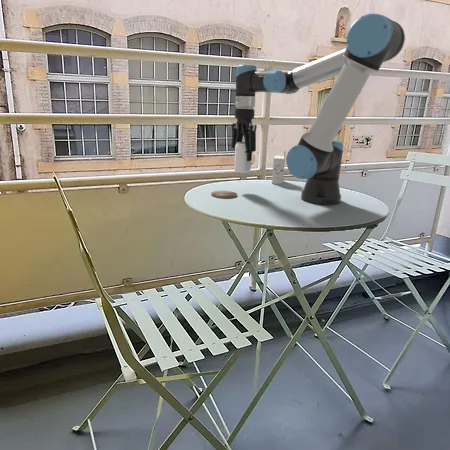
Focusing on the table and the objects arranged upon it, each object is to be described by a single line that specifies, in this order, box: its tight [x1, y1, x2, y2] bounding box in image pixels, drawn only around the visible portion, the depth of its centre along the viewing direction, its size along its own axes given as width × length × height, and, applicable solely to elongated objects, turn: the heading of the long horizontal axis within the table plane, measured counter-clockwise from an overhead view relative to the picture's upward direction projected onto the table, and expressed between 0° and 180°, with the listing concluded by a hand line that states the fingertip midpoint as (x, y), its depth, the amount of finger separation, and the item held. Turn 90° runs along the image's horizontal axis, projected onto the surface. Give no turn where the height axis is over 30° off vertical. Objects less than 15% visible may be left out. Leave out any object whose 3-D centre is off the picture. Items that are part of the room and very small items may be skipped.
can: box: [233, 141, 251, 175], centre depth 157 cm, size 6×6×12 cm
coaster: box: [211, 190, 238, 199], centre depth 153 cm, size 10×10×1 cm
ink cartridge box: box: [271, 149, 287, 185], centre depth 179 cm, size 9×5×15 cm, turn 168°
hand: (242, 167), depth 158 cm, fingers closed on can, 6 cm apart
